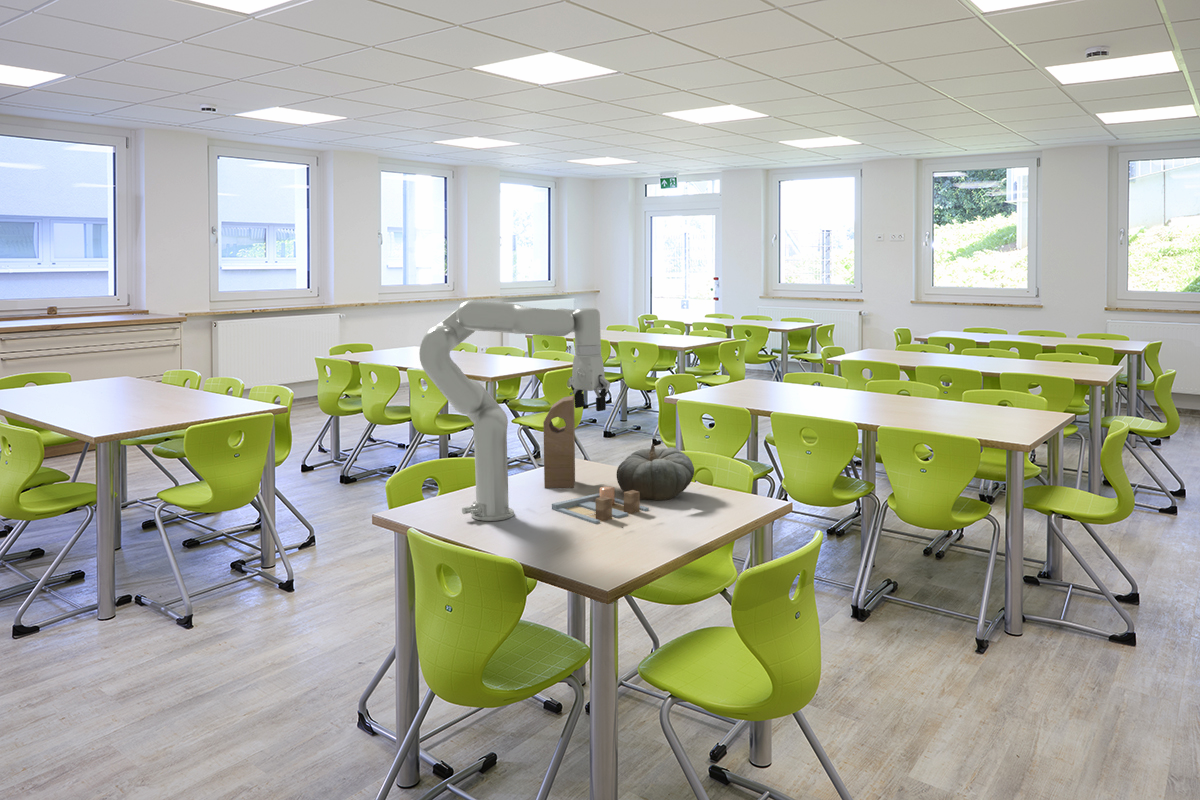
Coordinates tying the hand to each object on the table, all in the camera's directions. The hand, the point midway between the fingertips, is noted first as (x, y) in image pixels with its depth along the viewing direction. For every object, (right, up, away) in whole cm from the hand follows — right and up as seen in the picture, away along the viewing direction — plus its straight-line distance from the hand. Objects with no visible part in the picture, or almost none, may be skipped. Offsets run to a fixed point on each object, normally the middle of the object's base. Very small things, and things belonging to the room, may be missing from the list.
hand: (590, 408), depth 250 cm
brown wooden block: (+3, -33, -4) cm, 33 cm away
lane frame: (+3, -32, +4) cm, 32 cm away
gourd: (+21, -29, +23) cm, 42 cm away
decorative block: (-11, -26, +39) cm, 49 cm away
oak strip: (+8, -31, +7) cm, 33 cm away
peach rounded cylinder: (+5, -29, +10) cm, 31 cm away
